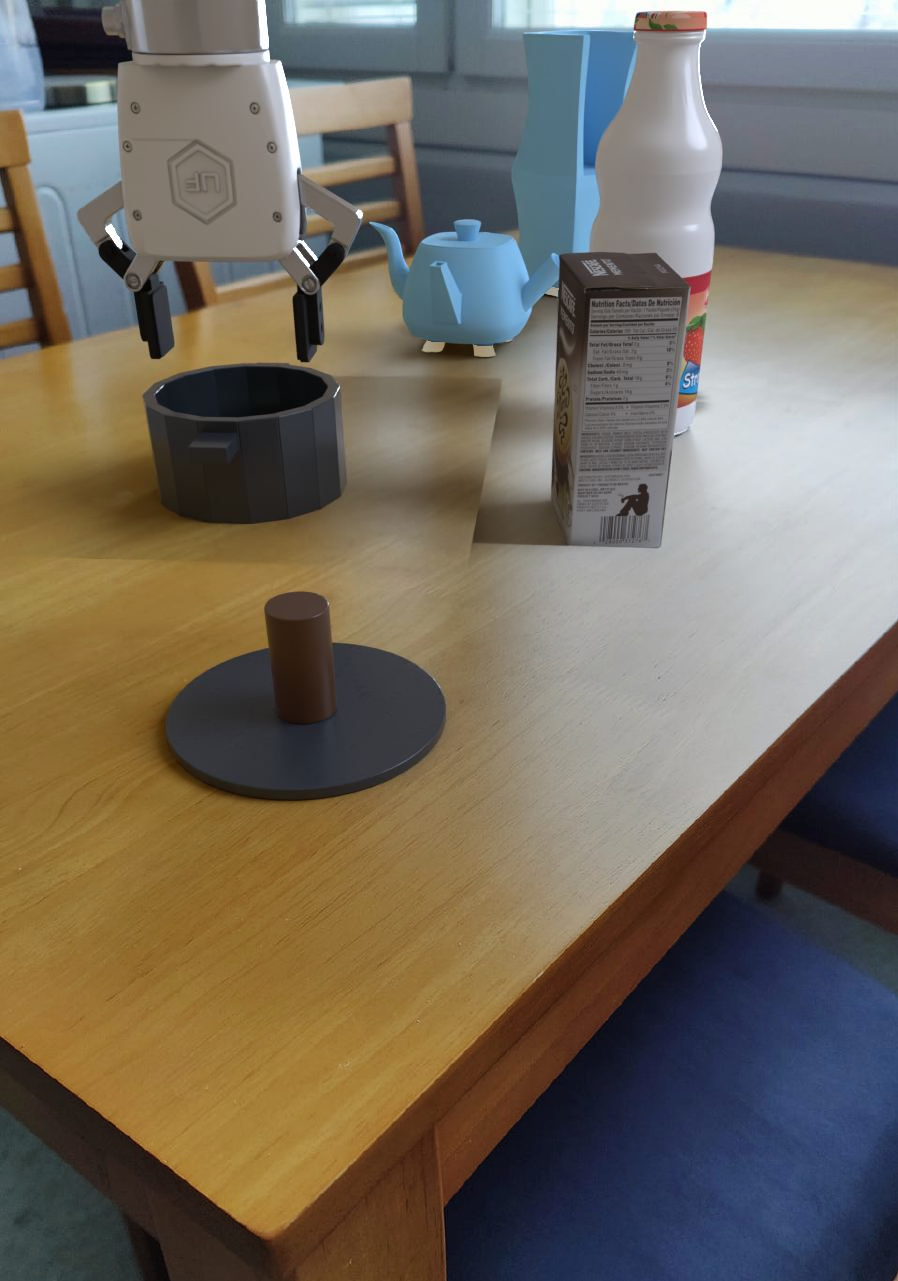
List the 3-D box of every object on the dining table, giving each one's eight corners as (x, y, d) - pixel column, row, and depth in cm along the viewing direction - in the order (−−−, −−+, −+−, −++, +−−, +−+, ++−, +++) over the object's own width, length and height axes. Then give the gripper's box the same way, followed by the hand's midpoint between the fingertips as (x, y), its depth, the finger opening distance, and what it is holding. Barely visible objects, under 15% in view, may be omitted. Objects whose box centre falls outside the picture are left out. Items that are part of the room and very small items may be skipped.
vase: (570, 300, 128) (583, 35, 114) (509, 286, 134) (514, 33, 119) (627, 286, 134) (646, 31, 119) (565, 274, 140) (577, 29, 125)
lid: (131, 803, 51) (102, 673, 47) (210, 656, 62) (192, 540, 58) (431, 818, 50) (427, 686, 46) (457, 665, 61) (456, 548, 57)
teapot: (420, 372, 106) (416, 240, 99) (373, 337, 116) (368, 215, 110) (566, 355, 110) (573, 227, 104) (509, 323, 121) (512, 204, 114)
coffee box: (546, 499, 80) (556, 251, 71) (636, 496, 81) (658, 249, 71) (566, 553, 73) (580, 284, 63) (665, 549, 73) (694, 281, 64)
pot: (127, 566, 72) (101, 433, 67) (202, 466, 86) (186, 351, 81) (321, 572, 71) (310, 437, 66) (365, 470, 85) (359, 353, 80)
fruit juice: (567, 409, 97) (587, 11, 80) (674, 403, 98) (716, 8, 81) (593, 446, 89) (621, 15, 73) (708, 439, 90) (762, 12, 74)
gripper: (19, 35, 60) (83, 369, 70) (342, 34, 59) (359, 375, 69) (71, 29, 66) (122, 337, 76) (364, 28, 65) (377, 342, 75)
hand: (235, 355), depth 72 cm, fingers open, 9 cm apart
